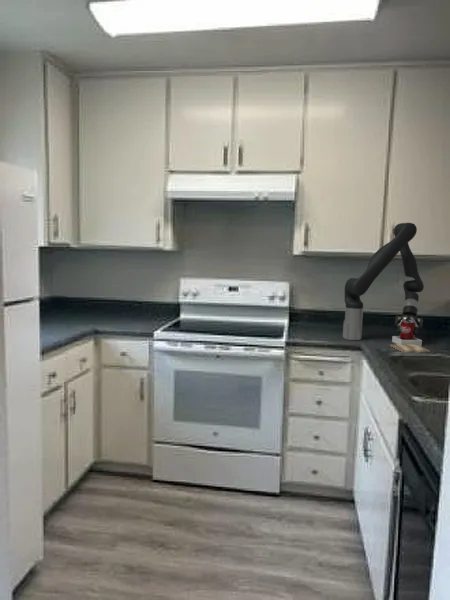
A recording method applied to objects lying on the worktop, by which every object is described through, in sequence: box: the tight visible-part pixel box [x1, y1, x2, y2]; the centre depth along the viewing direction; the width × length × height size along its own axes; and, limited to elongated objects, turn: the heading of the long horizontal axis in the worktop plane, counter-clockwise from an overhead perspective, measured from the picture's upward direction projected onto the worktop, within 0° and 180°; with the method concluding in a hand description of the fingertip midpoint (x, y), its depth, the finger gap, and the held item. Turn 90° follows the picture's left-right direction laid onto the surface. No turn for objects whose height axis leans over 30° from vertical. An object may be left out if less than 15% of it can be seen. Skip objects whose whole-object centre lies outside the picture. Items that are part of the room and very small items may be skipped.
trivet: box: [389, 343, 431, 353], centre depth 245 cm, size 14×14×1 cm
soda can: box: [399, 320, 416, 340], centre depth 259 cm, size 7×7×12 cm
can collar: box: [391, 335, 423, 347], centre depth 259 cm, size 11×11×3 cm
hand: (407, 333), depth 257 cm, fingers closed on soda can, 7 cm apart
